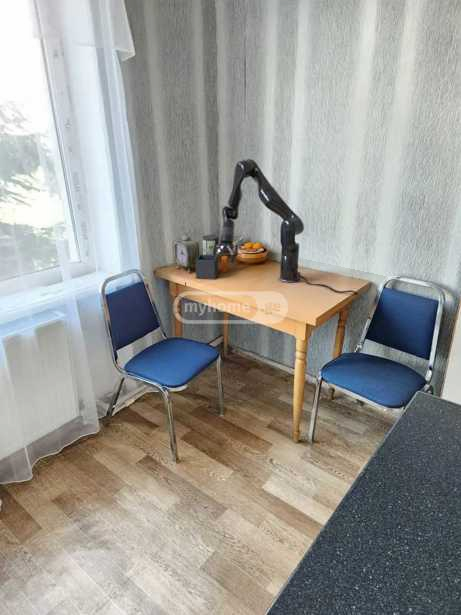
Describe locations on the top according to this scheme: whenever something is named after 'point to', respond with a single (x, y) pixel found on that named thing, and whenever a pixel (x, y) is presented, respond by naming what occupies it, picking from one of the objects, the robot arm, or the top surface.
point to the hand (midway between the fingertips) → (224, 261)
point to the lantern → (210, 244)
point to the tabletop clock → (185, 251)
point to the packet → (224, 263)
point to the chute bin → (206, 266)
